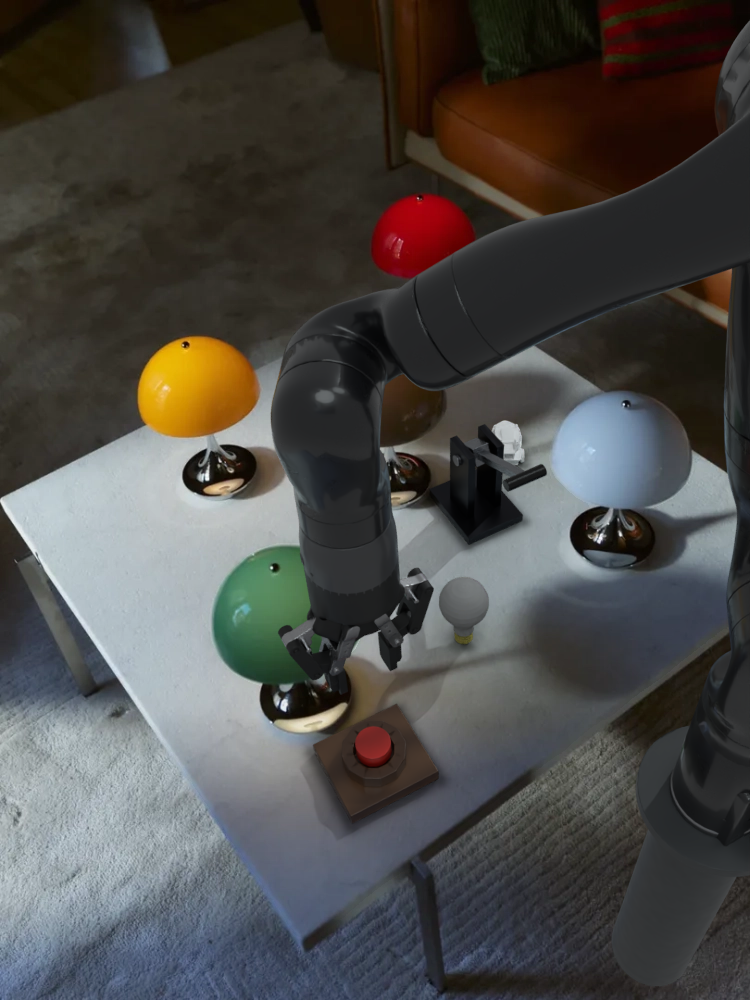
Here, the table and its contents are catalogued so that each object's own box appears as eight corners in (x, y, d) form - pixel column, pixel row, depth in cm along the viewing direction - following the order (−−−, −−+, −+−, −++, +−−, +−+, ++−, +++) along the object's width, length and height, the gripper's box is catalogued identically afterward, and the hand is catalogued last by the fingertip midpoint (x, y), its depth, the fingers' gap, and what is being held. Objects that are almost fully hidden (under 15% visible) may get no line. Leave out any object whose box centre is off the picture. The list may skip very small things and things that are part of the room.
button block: (439, 778, 97) (438, 762, 94) (352, 824, 94) (349, 808, 92) (397, 711, 103) (396, 694, 100) (314, 752, 100) (310, 735, 97)
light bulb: (430, 632, 109) (429, 579, 102) (471, 613, 111) (472, 559, 104) (454, 667, 106) (455, 614, 99) (496, 647, 108) (499, 593, 100)
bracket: (522, 520, 121) (528, 454, 112) (468, 544, 118) (470, 478, 110) (481, 473, 127) (483, 406, 118) (429, 495, 125) (427, 428, 116)
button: (397, 757, 96) (397, 748, 94) (366, 773, 95) (365, 764, 93) (381, 729, 98) (380, 720, 97) (350, 744, 97) (349, 736, 96)
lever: (548, 481, 106) (545, 461, 105) (511, 497, 105) (507, 478, 104) (490, 450, 118) (486, 433, 117) (455, 465, 116) (451, 447, 115)
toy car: (488, 472, 127) (489, 449, 124) (485, 431, 132) (486, 409, 129) (524, 471, 127) (526, 448, 124) (520, 430, 132) (521, 408, 129)
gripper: (285, 624, 69) (310, 741, 82) (453, 549, 73) (453, 671, 86) (247, 556, 74) (276, 676, 86) (407, 489, 78) (413, 613, 90)
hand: (364, 673), depth 86 cm, fingers open, 4 cm apart
